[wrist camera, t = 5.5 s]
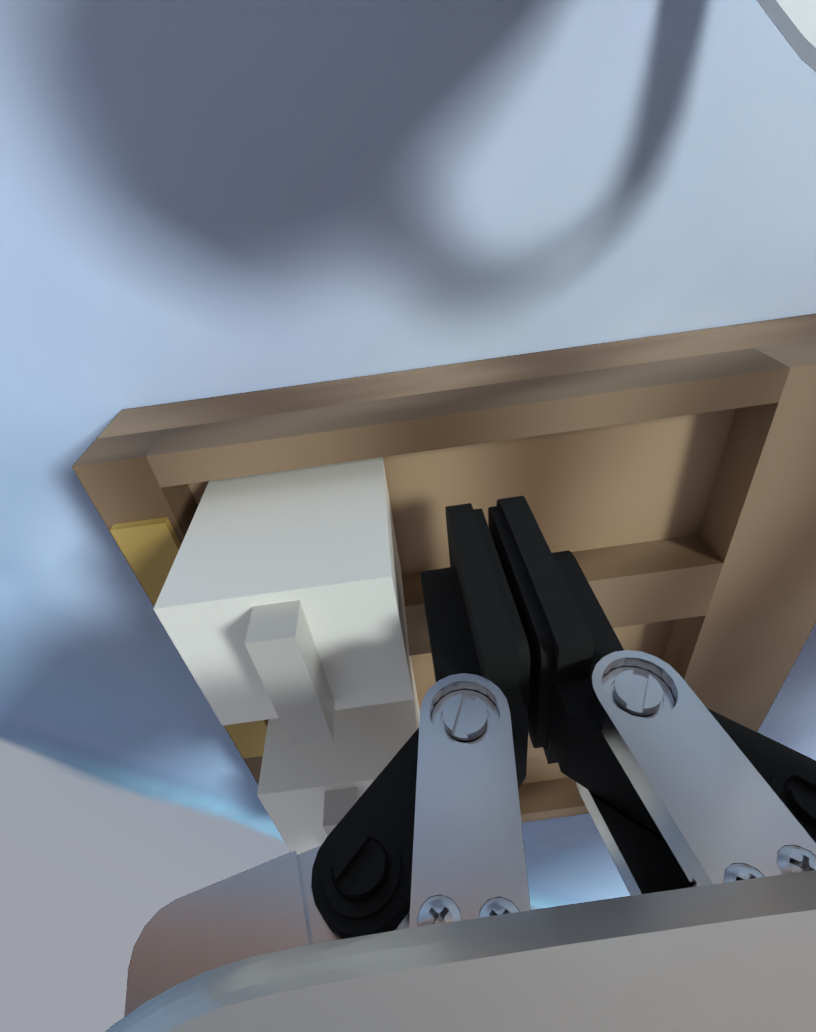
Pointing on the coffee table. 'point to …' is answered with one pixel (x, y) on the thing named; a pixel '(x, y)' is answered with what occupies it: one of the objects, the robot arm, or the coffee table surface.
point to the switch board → (543, 491)
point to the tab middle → (330, 768)
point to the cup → (795, 25)
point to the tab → (292, 597)
